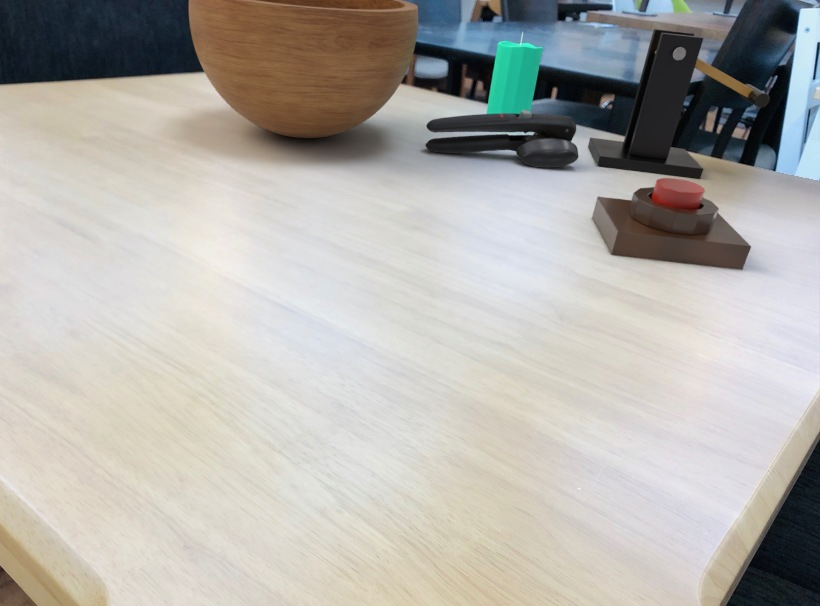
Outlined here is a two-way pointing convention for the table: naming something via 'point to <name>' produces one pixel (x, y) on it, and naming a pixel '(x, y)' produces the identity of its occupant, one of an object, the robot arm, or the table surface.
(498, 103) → the candle
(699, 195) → the button
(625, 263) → the table surface
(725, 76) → the lever
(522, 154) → the can opener
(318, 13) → the bowl
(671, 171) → the bracket
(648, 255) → the button block
